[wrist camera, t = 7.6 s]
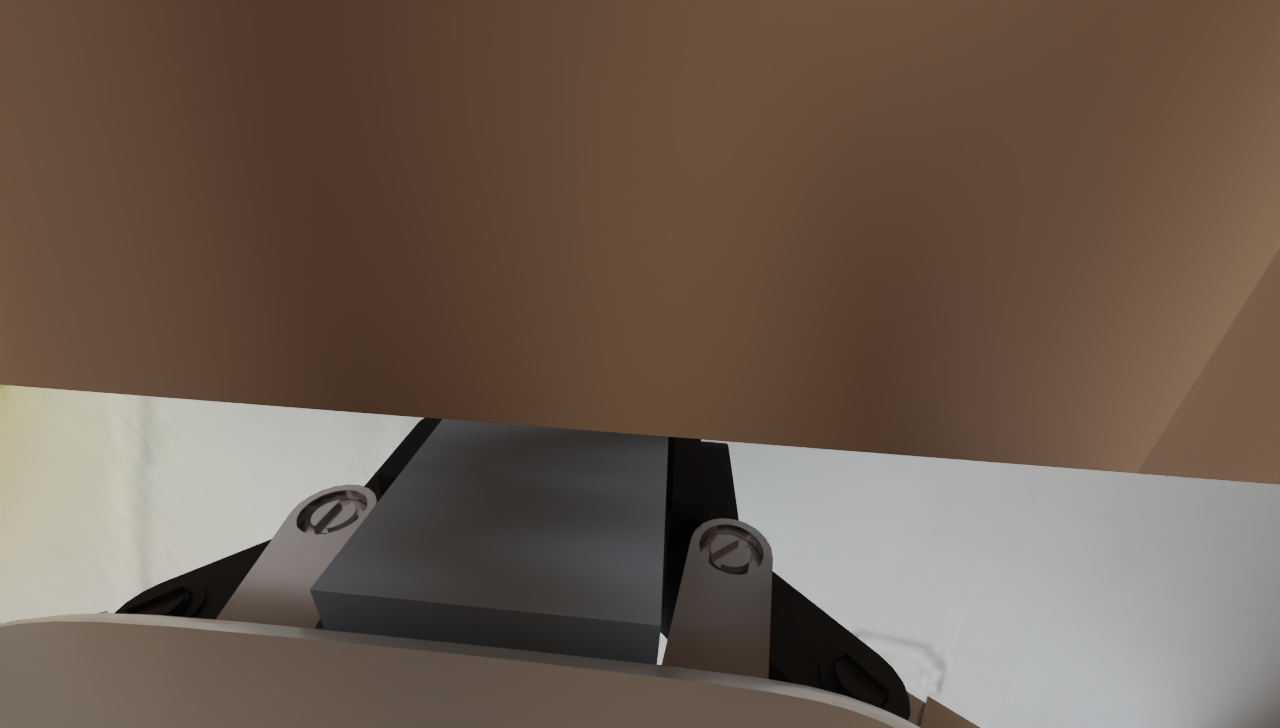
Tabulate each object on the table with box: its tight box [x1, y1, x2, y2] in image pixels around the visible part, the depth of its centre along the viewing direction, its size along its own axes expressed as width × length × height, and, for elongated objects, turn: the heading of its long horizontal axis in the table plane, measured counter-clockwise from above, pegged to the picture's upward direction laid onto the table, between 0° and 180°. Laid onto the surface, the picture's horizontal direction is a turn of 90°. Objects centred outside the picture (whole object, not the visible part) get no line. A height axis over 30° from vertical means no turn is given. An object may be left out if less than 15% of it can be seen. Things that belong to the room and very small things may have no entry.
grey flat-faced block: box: [310, 419, 668, 665], centre depth 8 cm, size 4×13×7 cm, turn 177°
